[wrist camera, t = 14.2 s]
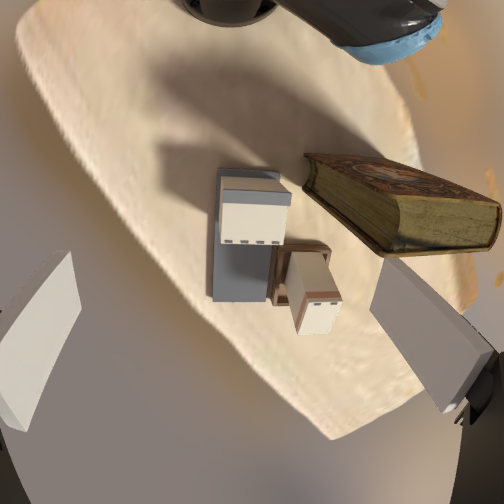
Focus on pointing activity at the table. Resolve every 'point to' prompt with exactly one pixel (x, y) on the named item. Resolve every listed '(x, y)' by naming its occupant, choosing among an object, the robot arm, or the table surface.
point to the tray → (282, 265)
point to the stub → (311, 293)
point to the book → (402, 207)
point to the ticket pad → (253, 211)
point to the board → (240, 255)
